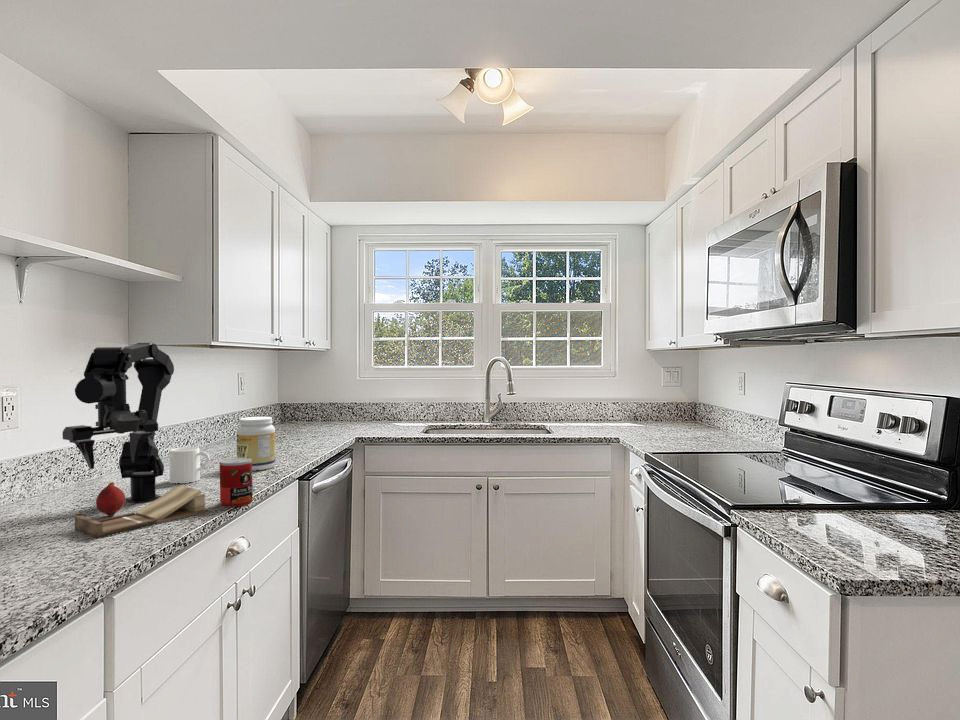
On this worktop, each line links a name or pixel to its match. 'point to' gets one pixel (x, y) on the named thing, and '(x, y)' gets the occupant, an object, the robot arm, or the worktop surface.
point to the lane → (124, 522)
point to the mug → (186, 464)
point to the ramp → (174, 502)
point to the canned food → (236, 482)
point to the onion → (110, 499)
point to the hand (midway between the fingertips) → (113, 465)
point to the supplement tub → (257, 442)
